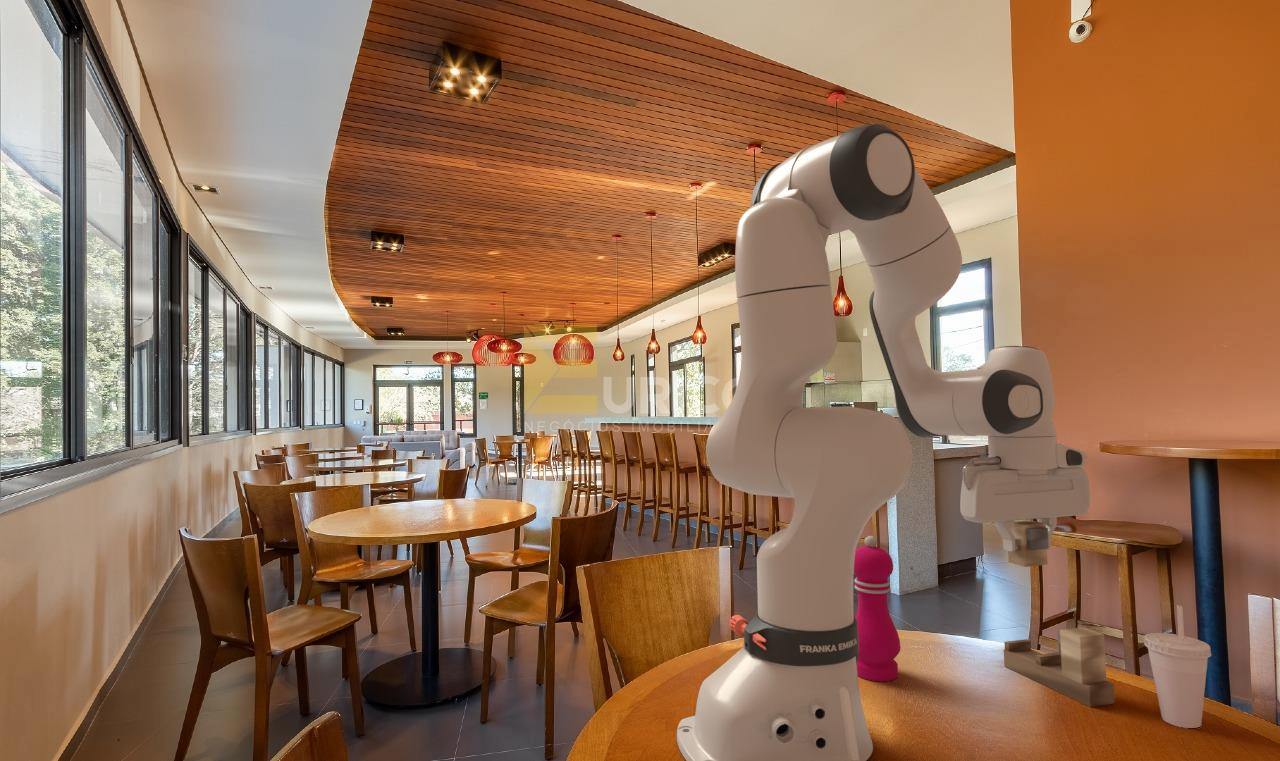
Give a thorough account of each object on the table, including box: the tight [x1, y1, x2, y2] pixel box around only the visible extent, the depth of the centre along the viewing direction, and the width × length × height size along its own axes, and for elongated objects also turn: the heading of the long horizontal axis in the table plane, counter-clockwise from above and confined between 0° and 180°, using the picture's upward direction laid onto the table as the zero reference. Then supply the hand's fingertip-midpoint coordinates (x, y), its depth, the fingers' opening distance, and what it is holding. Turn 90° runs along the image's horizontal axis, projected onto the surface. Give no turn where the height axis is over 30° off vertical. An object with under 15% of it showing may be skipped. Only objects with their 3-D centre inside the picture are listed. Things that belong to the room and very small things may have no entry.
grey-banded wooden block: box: [1007, 519, 1050, 568], centre depth 95 cm, size 4×4×6 cm
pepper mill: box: [853, 535, 902, 682], centre depth 95 cm, size 7×7×20 cm
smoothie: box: [1143, 604, 1212, 729], centre depth 79 cm, size 6×6×14 cm
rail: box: [1003, 626, 1116, 708], centre depth 90 cm, size 4×14×8 cm, turn 14°
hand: (1027, 549), depth 95 cm, fingers closed on grey-banded wooden block, 4 cm apart
